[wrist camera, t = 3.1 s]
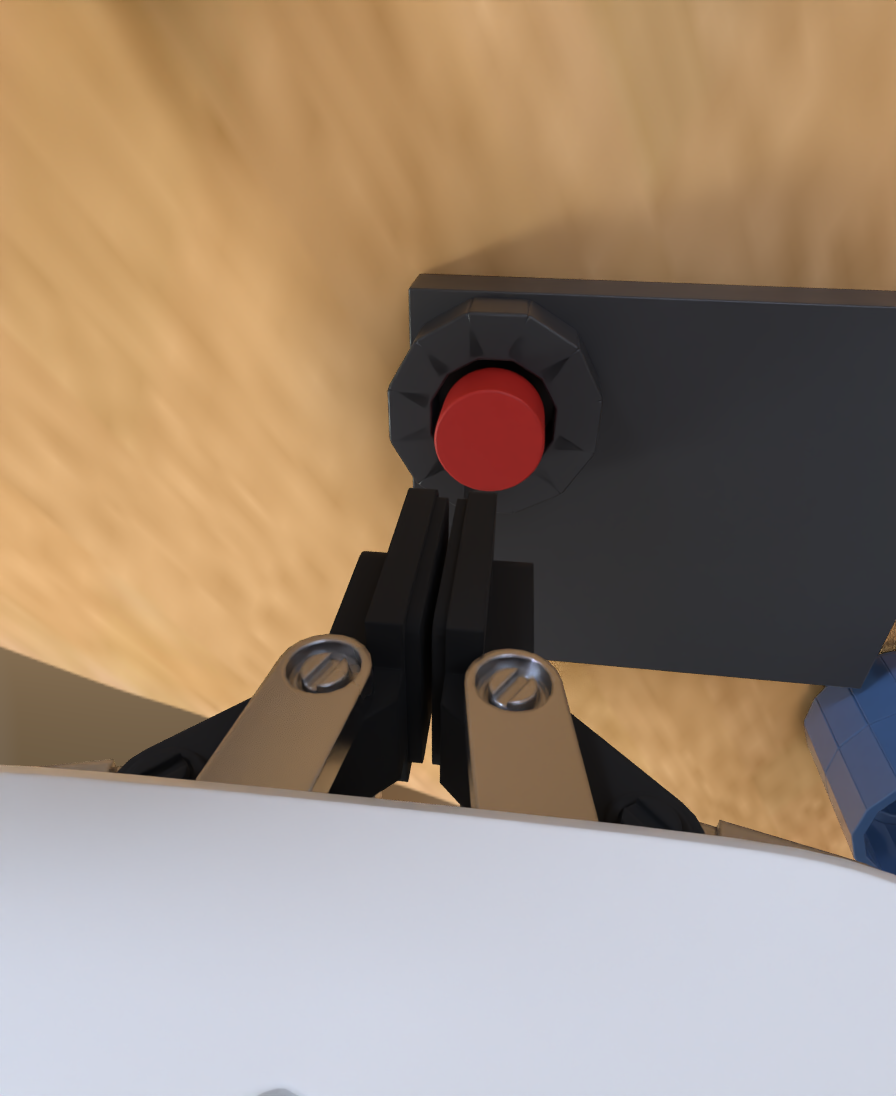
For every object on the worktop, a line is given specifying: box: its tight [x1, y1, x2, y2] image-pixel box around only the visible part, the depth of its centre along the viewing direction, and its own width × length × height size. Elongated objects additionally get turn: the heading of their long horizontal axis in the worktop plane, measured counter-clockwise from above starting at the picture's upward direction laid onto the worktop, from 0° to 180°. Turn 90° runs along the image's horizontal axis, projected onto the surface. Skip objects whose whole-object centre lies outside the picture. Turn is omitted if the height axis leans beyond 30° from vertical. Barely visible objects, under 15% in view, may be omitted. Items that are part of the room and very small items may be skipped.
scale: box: [388, 274, 896, 689], centre depth 20 cm, size 16×13×4 cm
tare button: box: [434, 368, 545, 491], centre depth 17 cm, size 3×3×2 cm
